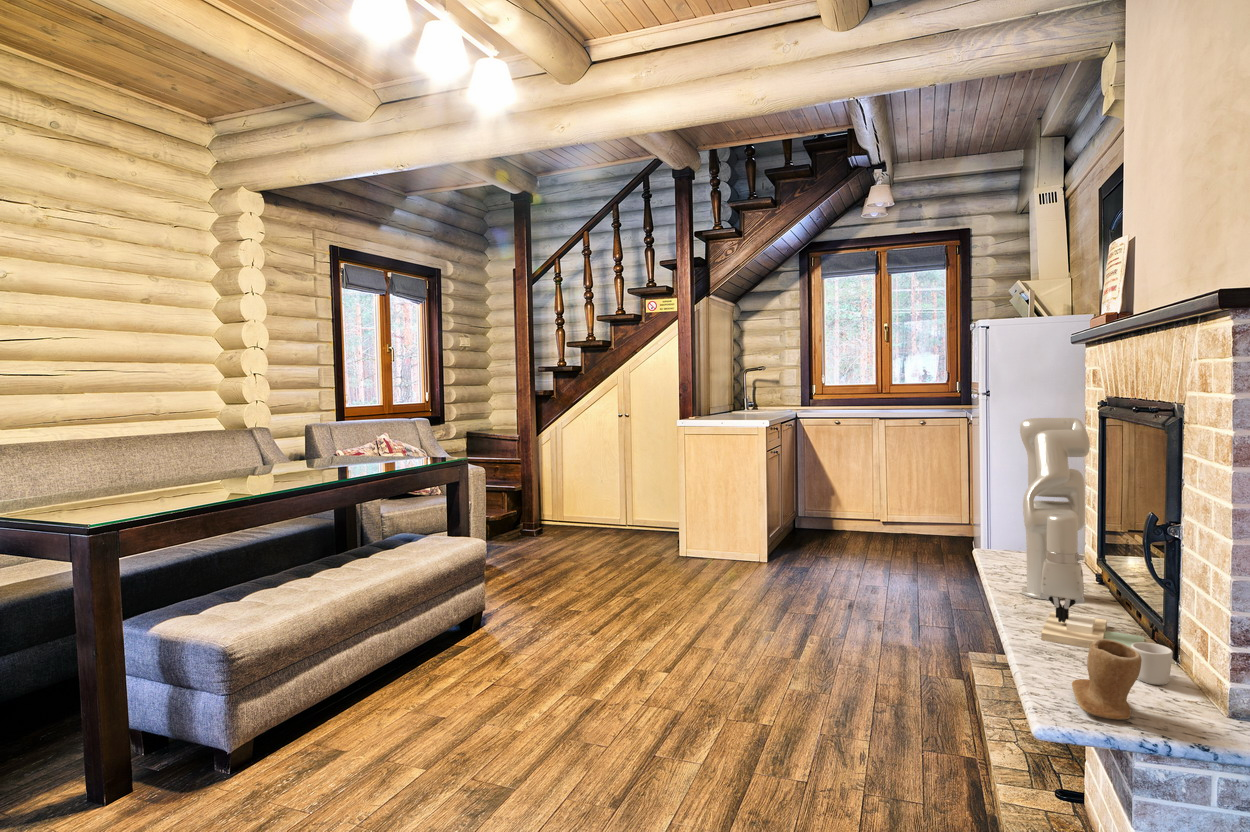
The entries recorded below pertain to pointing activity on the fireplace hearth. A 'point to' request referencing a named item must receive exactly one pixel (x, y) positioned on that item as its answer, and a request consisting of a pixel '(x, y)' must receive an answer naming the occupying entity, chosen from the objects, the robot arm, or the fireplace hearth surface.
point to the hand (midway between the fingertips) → (1062, 620)
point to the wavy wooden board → (1071, 632)
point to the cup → (1154, 662)
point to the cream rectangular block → (1081, 624)
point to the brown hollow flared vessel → (1108, 679)
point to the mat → (1123, 638)
